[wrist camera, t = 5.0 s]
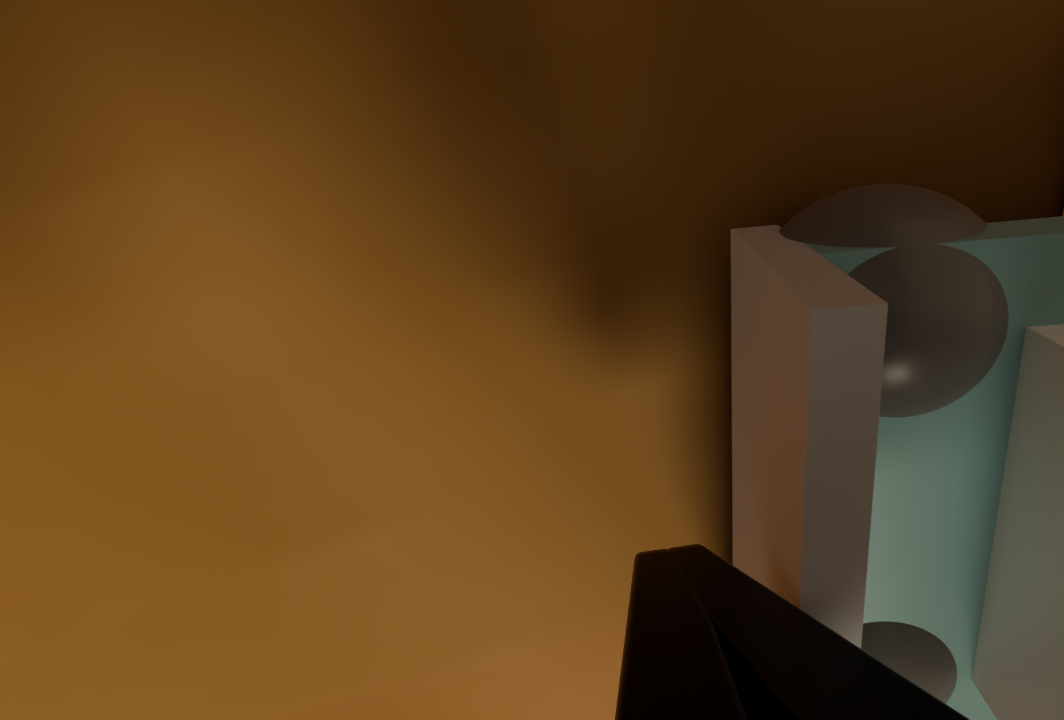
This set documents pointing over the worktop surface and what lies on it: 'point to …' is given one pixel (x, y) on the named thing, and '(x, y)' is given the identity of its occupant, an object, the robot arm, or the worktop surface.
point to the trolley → (908, 437)
